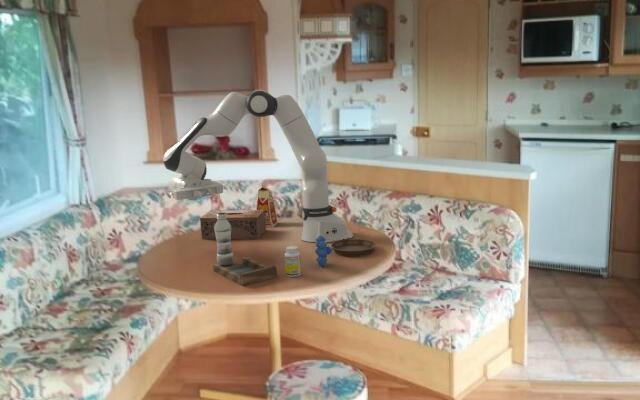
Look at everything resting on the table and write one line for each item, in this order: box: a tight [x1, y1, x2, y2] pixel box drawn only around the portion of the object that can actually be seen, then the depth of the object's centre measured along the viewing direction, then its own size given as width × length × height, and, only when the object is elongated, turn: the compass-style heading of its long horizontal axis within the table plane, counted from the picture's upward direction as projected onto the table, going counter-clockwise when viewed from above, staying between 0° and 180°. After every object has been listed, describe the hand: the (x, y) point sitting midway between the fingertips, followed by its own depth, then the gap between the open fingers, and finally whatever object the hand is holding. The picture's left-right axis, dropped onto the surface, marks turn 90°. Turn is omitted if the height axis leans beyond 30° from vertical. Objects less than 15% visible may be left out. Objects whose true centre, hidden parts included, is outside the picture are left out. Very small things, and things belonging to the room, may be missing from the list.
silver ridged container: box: [214, 213, 234, 266], centre depth 237 cm, size 6×7×20 cm
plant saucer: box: [330, 238, 377, 257], centre depth 249 cm, size 18×18×3 cm
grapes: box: [314, 236, 334, 267], centre depth 231 cm, size 12×7×12 cm, turn 7°
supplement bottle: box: [284, 245, 302, 278], centre depth 222 cm, size 6×6×10 cm
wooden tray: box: [212, 256, 278, 287], centre depth 227 cm, size 23×14×4 cm, turn 36°
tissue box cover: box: [199, 209, 267, 240], centre depth 282 cm, size 26×14×10 cm, turn 82°
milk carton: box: [256, 184, 278, 228], centre depth 297 cm, size 9×9×20 cm
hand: (206, 193), depth 244 cm, fingers closed
